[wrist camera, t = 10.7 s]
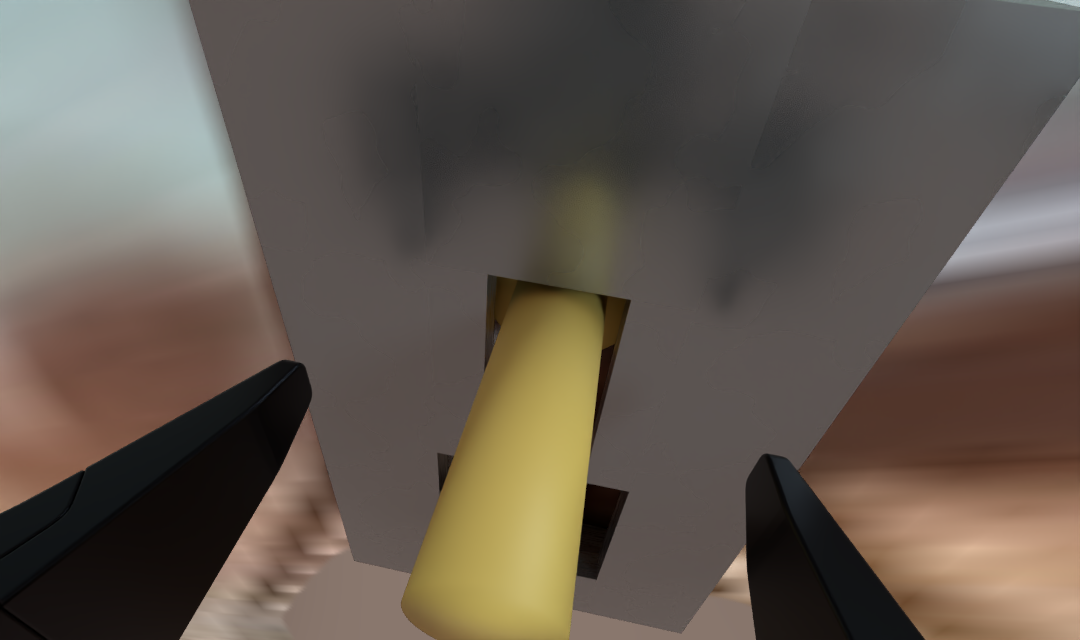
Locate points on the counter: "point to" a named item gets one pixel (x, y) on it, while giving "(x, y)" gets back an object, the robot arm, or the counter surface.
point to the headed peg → (518, 475)
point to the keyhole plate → (616, 227)
